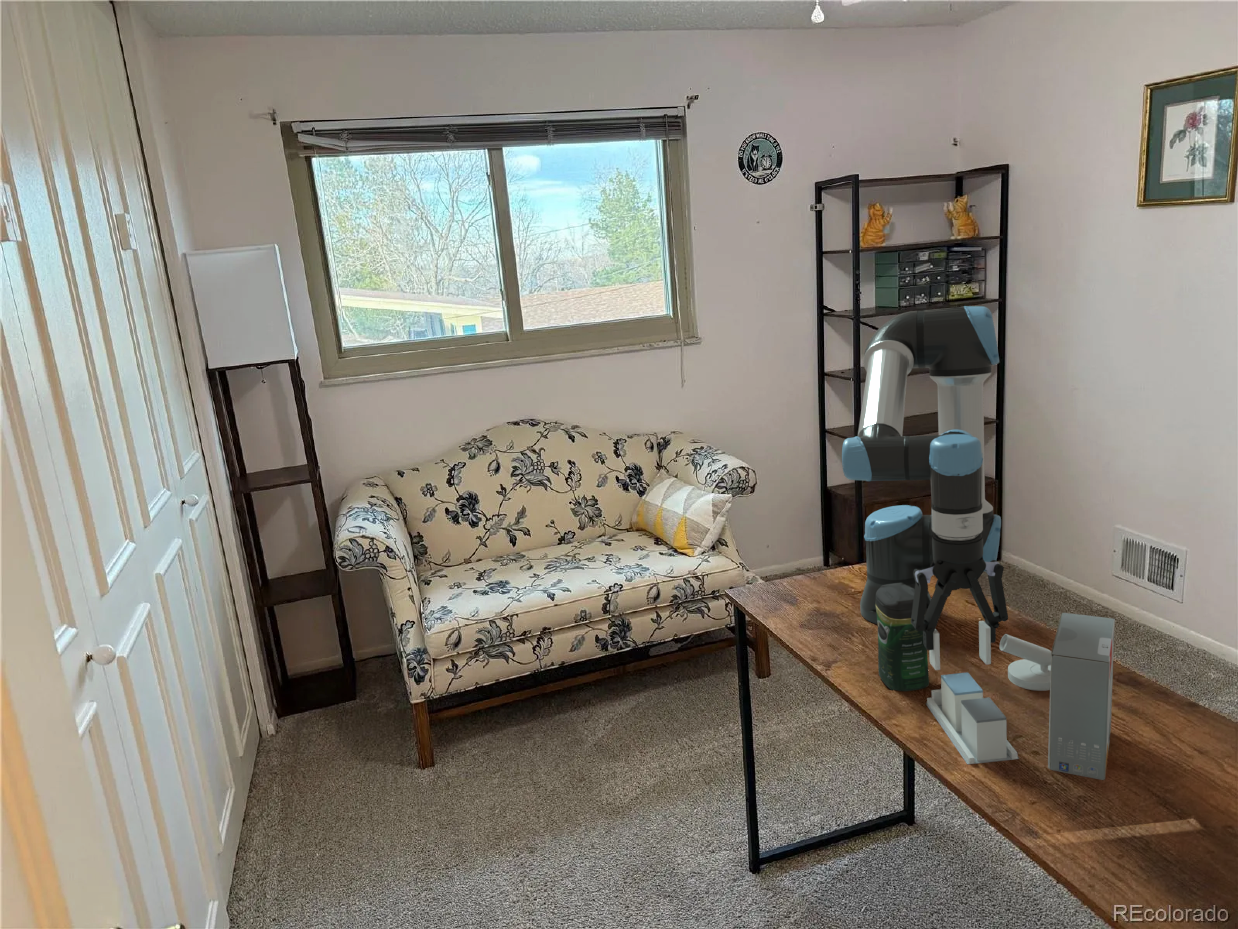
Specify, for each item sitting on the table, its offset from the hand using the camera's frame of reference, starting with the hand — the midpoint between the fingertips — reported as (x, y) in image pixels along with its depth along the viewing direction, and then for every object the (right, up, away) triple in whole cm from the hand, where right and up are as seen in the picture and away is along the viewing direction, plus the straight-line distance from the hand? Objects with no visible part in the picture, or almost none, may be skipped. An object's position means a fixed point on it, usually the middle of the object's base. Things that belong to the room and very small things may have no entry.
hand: (959, 663), depth 139 cm
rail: (+1, -12, -1) cm, 12 cm away
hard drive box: (+15, -12, -8) cm, 21 cm away
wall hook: (+18, -7, +12) cm, 22 cm away
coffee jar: (-3, -8, +17) cm, 19 cm away
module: (+1, -10, +2) cm, 10 cm away
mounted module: (+1, -12, -6) cm, 14 cm away
